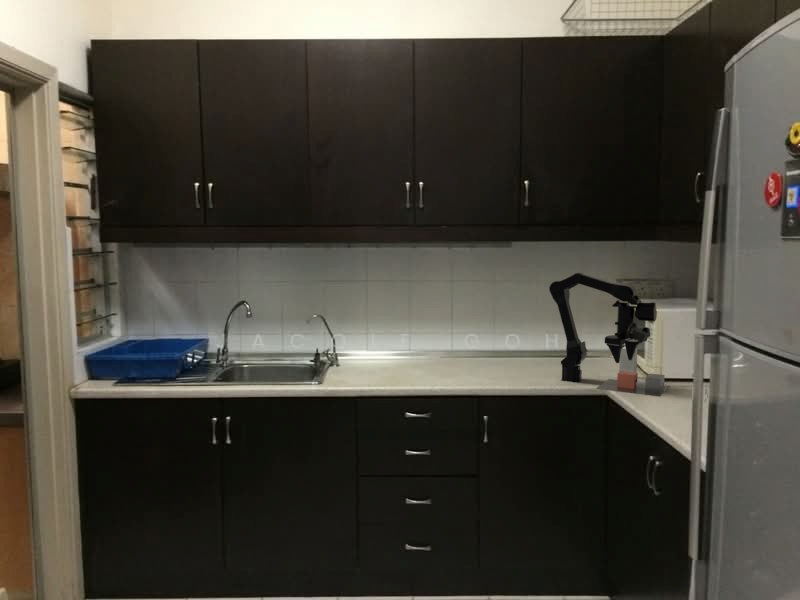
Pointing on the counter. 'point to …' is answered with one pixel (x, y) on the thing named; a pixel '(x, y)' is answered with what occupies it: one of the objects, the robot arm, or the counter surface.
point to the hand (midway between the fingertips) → (623, 361)
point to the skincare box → (627, 361)
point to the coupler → (639, 386)
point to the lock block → (627, 379)
